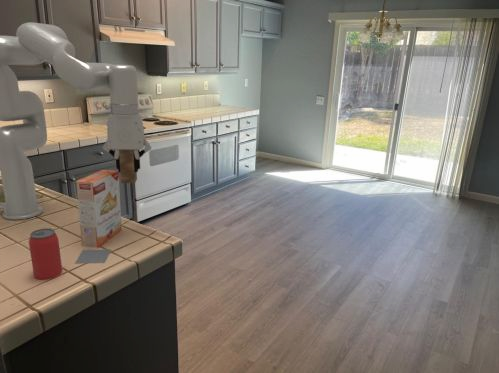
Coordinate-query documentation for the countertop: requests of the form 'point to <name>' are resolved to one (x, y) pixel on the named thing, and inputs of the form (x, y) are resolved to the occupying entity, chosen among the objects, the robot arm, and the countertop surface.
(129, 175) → the walnut block
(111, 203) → the cracker box
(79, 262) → the mat
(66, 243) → the countertop surface
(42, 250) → the beer can
